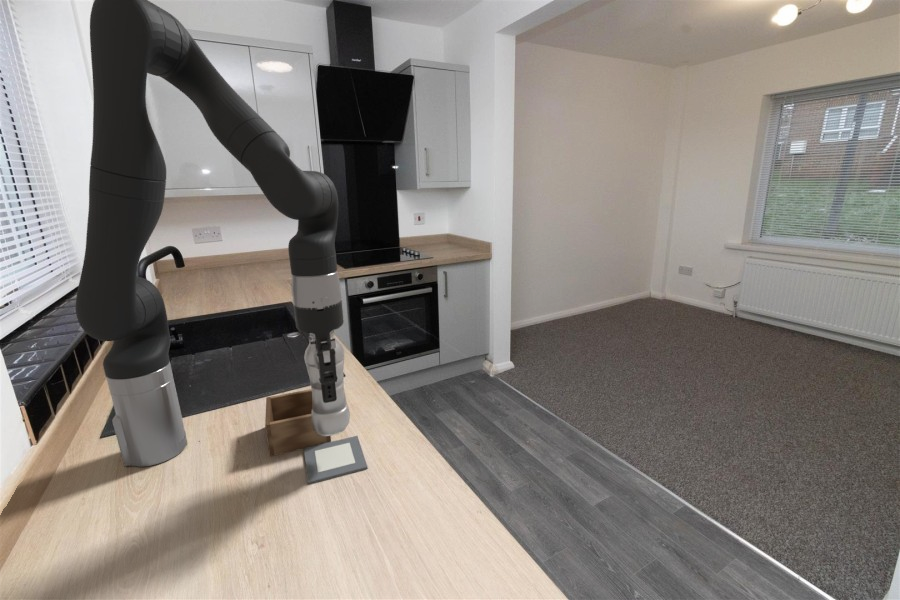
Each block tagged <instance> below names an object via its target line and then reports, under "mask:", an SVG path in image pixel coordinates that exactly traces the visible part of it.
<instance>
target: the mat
mask: <svg viewBox="0 0 900 600" xmlns="http://www.w3.org/2000/svg"><path fill="white" fill-rule="evenodd" d="M303 450H304V459H305V460H304V461H305V470H306V478H307V485H310V484H311V485H312V484H315V483H317V482H318V483H319V482H322V481H326V480H330V479H333V478H337V477H340V476H345V475H349V474H352V473H357V472H359V471H364V470H367V469H369V468H368V464H367V461H366V458H365V455H364V452H363V448H362V446H361V443H360V440H359V436H358V435H354V436H350V437H346V438H341V439H338V440H333V441H332V440H331V442H328V443H324V444H319V445H315V446H311V447H307V448H304V449H303Z"/></svg>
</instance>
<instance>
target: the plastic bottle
mask: <svg viewBox="0 0 900 600" xmlns="http://www.w3.org/2000/svg"><path fill="white" fill-rule="evenodd" d="M334 335H335V330H333V331H331V332H330V339H332V338H335V336H334ZM309 337H311V338H312V340H311V342H312V341H315V334H313V333H309ZM335 342H336V348H335V353H336V360H337V364H336V375H337V378H338V379H337V382H335V386H336V396H337V399H336V401H333V402H328V403H324V402H323V398H322V389H321V383H320V381H319V378H320V377H319V370H318V369H316V368H315V362H314V355H313V352H312V351H311V346H310V342H308V343H309V344H308V345H307V347H306V349H305V352H304V357H303V358H304V363H305V366H306V370H307V374H308V376H309V383H310V389H311V390H312V413H311V423H312V426H313V429H314V431H315V432H316V433H317V434H319V435H321V436H331V437H332V436H336V435H339V434H340V433H343V432H344V431H345V430H346V428H347V427H348V425H350V419H351V413H350V407H349V405H348V403H347V402H348V401H347V396H346V392H345V386H344V385H345V383H344V369H345V367H344V366H345V348H344V347H343V345H342V343H340V341H339V340H338V339H337V338H335ZM331 349H332V348H331ZM316 352H317V348H316ZM316 357H317V356H316ZM317 359H318V357H317ZM318 363H319V361H318ZM328 374H332V372H331V371H328V372H324V373H323V375H328Z"/></svg>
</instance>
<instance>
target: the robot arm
mask: <svg viewBox="0 0 900 600" xmlns="http://www.w3.org/2000/svg"><path fill="white" fill-rule="evenodd" d="M89 43H90V58H91V69H92V70H91V71H92V72H91V73H92V74H91V75H92V89H93V90H92V93H93V110H92V111H93V113H92V115H93V117H92V146H91V153H90V154H91V155H90V163H89V165H90V166H89V182H88V183H89V184H88V186H89V187H88V216H87V223H86V225H87V226H86V227H87V228H86V237H85V238H86V240H85V251H84V257H83V263H82V268H81V274H80V277H79V283H78V288H77V292H76V296H75V297H76V298H75V314H76V319H77V322H78V323H79V326H80V328H81V329H82V330H83V331H84V333H86V335H88V336H89V337H91V338H92V339H94V340H97V341H101V342H113V343H112V345H111V347H110V349H109V351H108V353H107V354H106V355H105V357H104V359H103V362H102V367H103V372H104V375H105V377H106V378H105V379H106V381H107V385H108V389H109V393H110V396H111V401H112V404H113V408H114V412H115V415H114V416H113V418H112V421H111V422H112V425H113V429H114V434H115V437H116V440H117V445H118V448H119V451H120V455H121V459H122V462H123V465H124V467H129V466H134V467H141V468H143V467H150V466H155V465H158V464H161V463H164V462H166V461H168V460H171V459H173V458H174V457H176V456H178V455H179V454H181V452H183V451H184V450H185V448H186V447H187V445H188V439H187V433H186V429H185V425H184V421H183V416H182V411H181V407H180V402H179V398H178V393H177V390H176V384H175V380H174V375H173V371H172V370H173V369H172V365H171V361H170V357H169V354H170V353H169V352H170V347H171V335H170V334H171V332H170V329H169V322H168V315H167V309H166V305H165V301H164V298H163V296H162V294H161V292H160V289H158V288H157V286H156V285H155V284H154V283H153V282H152V281H150V280H148V279H147V278H144V277H140V276H138V275H137V274H138V273H137V272H138V267H139V262H140V259H141V257H142V253H143V251H144V249H145V247H146V245H147V244H148V242H149V239H150V237H151V236H152V234H153V232H154V231H155V228H156V227H157V225H158V223H159V221H160V217H161V215H162V212H163V209H164V202H165V194H166V185H167V165H166V161H165V158H164V155H163V152H162V149H161V146H160V144H159V141H158V139H157V137H156V135H155V132H154V129H153V126H152V124H151V122H150V118H149V115H148V108H147V97H146V96H147V95H146V93H147V80H148V79H147V77H148V74H149V75H153V76H154V77H155V76H156V77H160V78H161V79H163V80H164V81H166V82H167V83H169V84H170V85H172V86H173V87H175V88H176V89H177V90H179V91H180V92H182V94H184V95H185V96H186V97H187V98H188V99H190V101H191V102H193V104H194V105H195V106H196V107H197V108H198V110H199V112H200V113H201V114H202V116H203V118H204V120H205V123H206V125H207V126H208V127H209V129H210V131H211V133H212V134H213V136H214V137H215V138H216V139H217V141H218V142H219V143H220V144H221V145H222V147H224V149H226V150H227V152H228V153H229V154H231V155H232V156H233V157H234V158H235V159H236V161H238V162H239V163H240V164H241V165H242V167H244V168H245V169H246V170H247V171H248V172H249V173H250V174H251V176H252V178H253V179H254V182H255V183H256V184H257V186H258V187H259V189H260V190H261V192H262V194H264V196H265V198H266V199H267V200H268V201H269V203H270V204H271V205H272V206H273V207H274V208H275V209H276V211H278V212H279V213H280V214H282V215H283V216H285V217H287V218H289V219H292V220H294V221H295V220H297V231H296V233H295V235H293V236H292V237H291V238H290V240H289V241H288V247H287V249H288V258H289V267H290V274H291V276H290V277H291V297H292V304H293V311H294V319H295V320H294V321H295V327H296V329H297V330H298V331H299V332H300V333H303V334H310V333H313V334H315V341H312V342H311V340H312V338H311V337H310V336H308V341H309V342H308V343H310V346H311V351H312V352H313V355H314V362H315V368H316V369H318V370H319V377H320V378H319V381H320V383H321V389H322V398H323V402H324V403H328V402H333V401H336V399H337V396H336V386H335V382H337V379H338V378H337V375H336V364H337V360H336V353H335V348H336V342H335V339H336V338H335V337H334V338H332V339H330V332H331V331H333V330H334V331H335V330H338V329H340V328H341V327H342V326H343V324H344V323H345V322H344V321H345V320H344V311H343V300H342V290H341V289H342V288H341V282H340V278H339V272H338V264H337V263H338V262H337V253H336V247H335V246H336V245H335V242H336V236H337V230H338V229H337V228H338V220H339V197H338V191H337V188H336V186H335V184H334V182H333V181H332V180H331V178H329V176H328V175H327V174H325V173H322V172H321V171H316V170H302V169H301V168H300V167H299V166H297V165H296V164H295V163H294V161H293V159H291V158H290V157H291V150H290V149H289V146H288V144H287V143H286V141H285V140H284V139H283V137H281V136H280V135H279V134H278V133H277V132H276V131H275V129H273V128H272V127H271V126H270V125H269V124H268V123H267V122H266V121H265V120H264V118H263V117H261V116H260V115H259V113H257V112H256V111H255V110H254V109H253V108H252V106H250V105H249V104H248V103H247V102H246V101H245V100H244V99H243V97H241V96H240V95H239V94H238V93H237V91H235V89H234V88H232V86H231V85H230V83H228V82H227V81H226V80H225V78H224V77H223V75H222V74H221V73H220V72H219V71H218V69H216V67H215V66H214V65H213V64H212V62H211V61H210V59H208V57H207V55H206V53H204V51H203V50H202V49H201V46H199V44H198V43H197V41H196V40H195V39H194V38H193V36H192V35H191V34H190V32H189V31H188V30H187V28H186V27H185V26H184V24H182V23H181V22H180V21H179V19H177V18H176V17H175V16H174V15H173V14H171V13H169V11H166V10H165V9H163V7H160V6H158V5H156V4H155V3H154V2H152V1H150V0H94V1H93V3H92V7H91V10H90V17H89ZM316 348H317V352H316ZM331 348H332V349H331ZM316 356H317V357H318V359H317V357H316ZM318 361H319V363H318ZM328 371H331V372H332V374H328V375H323V373H324V372H328Z"/></svg>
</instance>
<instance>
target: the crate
mask: <svg viewBox="0 0 900 600" xmlns="http://www.w3.org/2000/svg"><path fill="white" fill-rule="evenodd" d="M265 401H266V402H265V417H264V418H265V421H264V425H265V426H264V427H265V433H266V434H265V435H266V439H267V446H268V452H269V457H272V456H277V455H282V454H286V453H291V452H294V451H298V450H304V448H307V447H311V446H315V445H319V444H324V443H328V442H332V436H321V435H319V434H317V433H316V432H315V431H314V429H313V426H312V423H311V413H312V390H311V388H310V389H304V390H298V391H294V392H289V393H288V392H287V393H283V394H278V395H277V394H276V395H273V396H267V397H266V398H265Z"/></svg>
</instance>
